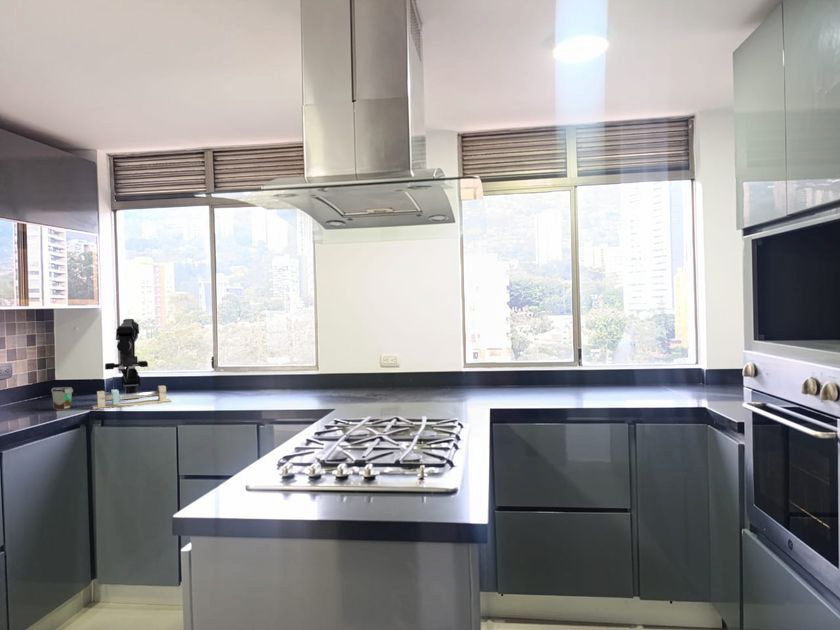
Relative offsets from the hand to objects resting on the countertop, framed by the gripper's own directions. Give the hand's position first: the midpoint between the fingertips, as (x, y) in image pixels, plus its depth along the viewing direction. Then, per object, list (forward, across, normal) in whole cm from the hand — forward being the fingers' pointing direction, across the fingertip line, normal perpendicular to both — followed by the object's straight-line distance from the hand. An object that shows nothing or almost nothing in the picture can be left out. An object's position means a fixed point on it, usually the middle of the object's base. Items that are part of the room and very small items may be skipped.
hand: (127, 382), depth 290 cm
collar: (+9, -6, -3) cm, 11 cm away
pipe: (+8, +2, -6) cm, 10 cm away
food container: (+11, -26, +5) cm, 29 cm away
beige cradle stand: (+11, +2, -6) cm, 12 cm away
